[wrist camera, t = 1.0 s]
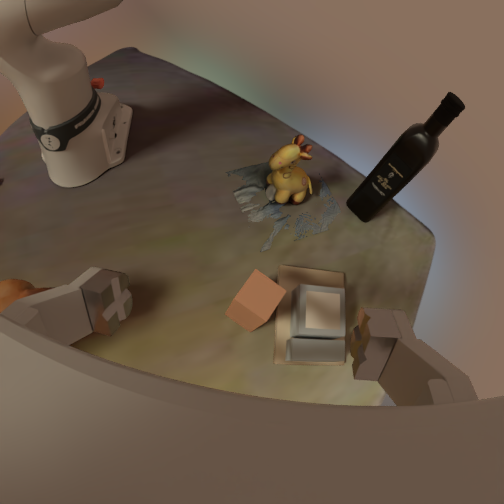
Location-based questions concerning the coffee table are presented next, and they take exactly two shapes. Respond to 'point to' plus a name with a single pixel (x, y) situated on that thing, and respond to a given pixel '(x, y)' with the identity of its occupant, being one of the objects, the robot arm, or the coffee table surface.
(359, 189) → the wine bottle
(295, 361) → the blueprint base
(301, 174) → the stuffed giraffe
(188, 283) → the coffee table surface
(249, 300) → the pillar
